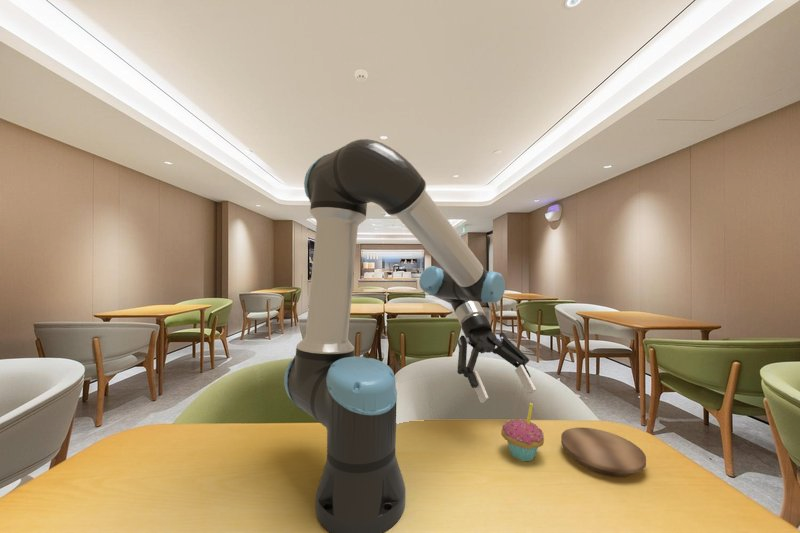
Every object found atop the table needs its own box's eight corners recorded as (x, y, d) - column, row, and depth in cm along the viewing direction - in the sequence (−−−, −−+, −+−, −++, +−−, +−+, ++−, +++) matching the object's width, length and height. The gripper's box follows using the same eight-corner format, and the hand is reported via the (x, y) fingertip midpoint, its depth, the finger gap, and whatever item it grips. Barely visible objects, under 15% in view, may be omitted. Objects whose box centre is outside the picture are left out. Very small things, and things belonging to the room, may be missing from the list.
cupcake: (536, 445, 72) (536, 392, 72) (550, 469, 64) (550, 409, 64) (497, 443, 73) (498, 390, 73) (506, 466, 65) (506, 407, 65)
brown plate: (586, 483, 59) (586, 467, 59) (548, 440, 74) (548, 427, 74) (666, 484, 59) (666, 468, 59) (612, 440, 74) (612, 427, 74)
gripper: (503, 326, 95) (541, 395, 81) (428, 331, 87) (456, 410, 73) (516, 311, 90) (558, 382, 76) (437, 315, 82) (469, 396, 68)
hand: (509, 396), depth 74 cm, fingers open, 13 cm apart
